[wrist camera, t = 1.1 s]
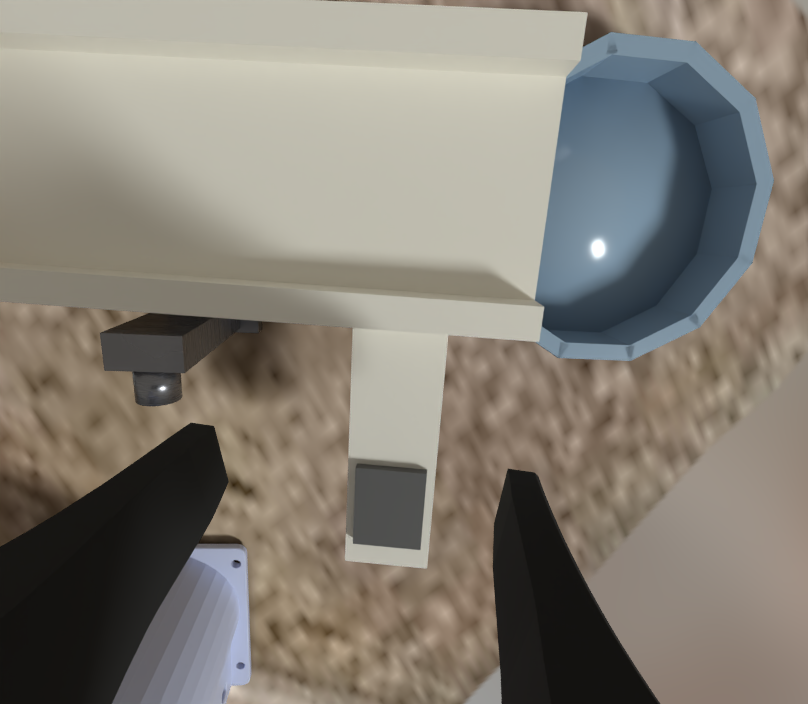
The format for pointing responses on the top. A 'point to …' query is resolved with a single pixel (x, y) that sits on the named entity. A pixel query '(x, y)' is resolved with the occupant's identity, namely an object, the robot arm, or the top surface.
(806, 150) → the top surface
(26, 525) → the top surface
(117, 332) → the stand
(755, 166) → the blue bowl
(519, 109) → the lever
